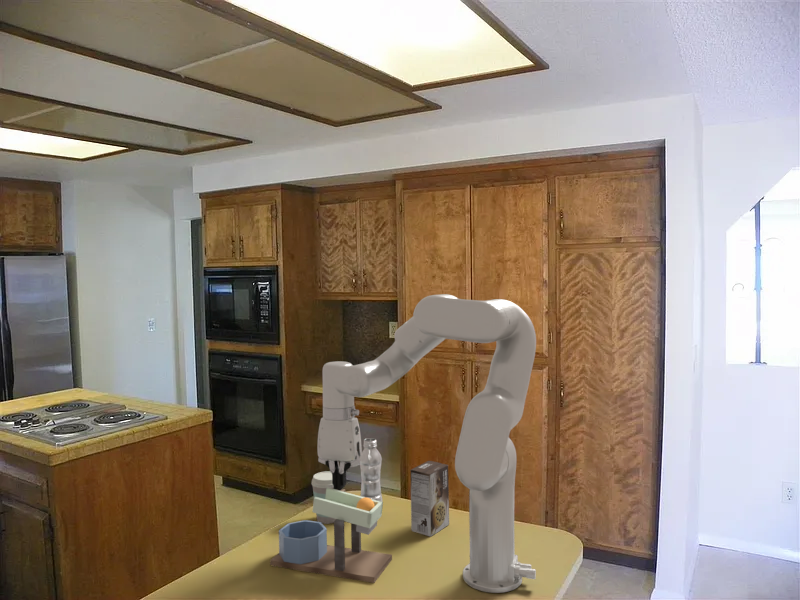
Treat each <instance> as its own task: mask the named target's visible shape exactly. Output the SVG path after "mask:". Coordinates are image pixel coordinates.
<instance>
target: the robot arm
mask: <svg viewBox="0 0 800 600" xmlns="http://www.w3.org/2000/svg"><path fill="white" fill-rule="evenodd" d="M534 326H535V325H534V324H533V322H532V320H531V318H530V317H529V315H528V314H527V313H526V312H525V310H523V309H522V308H521V307H520V306H519V305H518V304H516V303H514V302H512V301H510V300H507V299H501V298H498V299H497V298H496V299H487V300H479V299H478V300H476V299H463V298H459V297H456V296H455V295H452V294H448V293H445V294H444V293H443V294H432V295H427V296H425V297H423V298H422V299H420V300H419V302H417V304H416V305H415V308H414V310H413V314H412V317H410V318H409V319H408V320H407V321H405V322H404V323H403V324H402V325H401V326H400V327H398V328H397V329H396V330H395V332H394V341H393V343H392V345H390V347H388V348H387V349H386V350H385V351H383V353H381V354H380V355H379V356H378V357H376V358H375V359H373V360H369V361H366V362H363V363H359V364H354V365H353V364H352V363H351V362H348V361H343V360H342V361H341V360H340V361H338V360H337V361H329V362H326V363H324V365H323V367H322V417H321V418H320V422H319V426H318V432H317V449H316V450H317V456H318V460H317V461H318V463H321V464H324V465H325V466H326V467H327V468H328V469H329V471H330V472H331V473H332V484H333V488H334V489H335V490H336V489H338V490H341V489H344V488H345V486H346V484H347V471H348V470H349V469H350V468H355V467H358V466H360V459H359V458H360V456H361V454H362V451H363V450H362V449H363V448H362V435H361V428H360V425H359V419H358V418H357V417H356V416H359V415H360V410H359V409H356V405H355V398H364V397H367V396H370V395H372V394H375V393H379V392H380V391H384V390H385V389H387V388H389V387H391V386H392V385H393V384H394V383H396V382H397V381H398V380H399V379H401V378H402V377H404V376H405V375H406V374H407V373H408V372H410V370H411V369H412V368H414V366H415V365H417V364H418V362H420V360H421V359H422V358H423V357H425V356H426V355H427V354H428V353H430V352H431V351H432V350H434V349H435V348H436V347H437V346H439V345H440V344H441V343H442V342H444V341H445V340H453V341H454V340H455V341H463V342H469V343H477V344H490V343H496V345H495V346H496V347H495V350H494V353H493V356H492V359H491V362H490V367H489V373H488V376H487V381H486V383H485V387H484V389H483V390H482V391H480V392H479V393H477V394H476V395H474V397H473V398H472V399H471V400H470V401H469V403H468V405H467V407H466V410H465V414H464V417H463V421H462V426H461V429H460V434H459V439H458V442H457V448H456V453H455V457H454V458H455V459H454V470H455V473H456V476H457V478H458V479H459V481H460V483H462V485H463V486H464V487H466V488H467V489H469V496H468V497H469V499H468V500H469V503H468V505H469V507H468V508H469V511H468V512H469V513H468V515H469V517H468V518H469V519H468V521H469V563H468V564H467V565H465V567H463V570H462V579H463V580H464V582H465V583H466V584H467V585H468V586H469V587H471V588H473V589H474V590H477V591H480V592H484V593H492V594H493V593H494V594H498V593H507V592H510V591H514V590H515V589H517V588H519V587H520V586H521V584H522V582H523V578H526V579H530V580H536V576H537V570H536V569H535V568H532V564H530V563H521V561H518V560H519V559H518V555H517V554H515V487H516V486H515V483H516V474H517V471H516V470H517V462H518V461H517V450H516V447H515V444H514V442H513V440H511V438H510V434H511V430H513V428H515V427H516V426H517V425H518V423H519V422H520V421H521V419H522V418H523V414H524V410H525V409H524V408H525V405H526V399H527V396H528V395H527V394H528V391H529V390H528V389H529V385H530V380H531V377H532V376H531V374H532V370H533V366H534V362H535V356H536V350H537V335H536V330H535V327H534Z"/></svg>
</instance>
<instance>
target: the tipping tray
mask: <svg viewBox="0 0 800 600" xmlns="http://www.w3.org/2000/svg"><path fill="white" fill-rule="evenodd" d="M362 498H365V497H362V496H360V495H357V494H354V493H350V492H346V489H345V488H342V489H341V490H338V489H336V490H335V489H332V488H327V489H326V496H325V499H322V498H318V497H315V498H314V497H313V502H312V503H313V504H312V513H314V514H316V513H317V514H321V515H324V516H328V517H331V518H335V519H338V520H344V523H345V522H346V523H350V524H351V523H352V524H356V525H357V526H356V531H357V532H360V533H361V534H364V535H368V536H369V535H370V534H371V533H372V532H373V531H374V530H375V528H376V527H377V526H378V521H379V519H380V518H382V514H383V505H384V501H383V502H380V501H377V500H373V499H371V500H372V501H373V502H374V506H375V507H374V508H373V509H372V510H371V511H370V512H369V511H366V510H362V509H359V508H357V503H358V501H359V500H360V499H362Z"/></svg>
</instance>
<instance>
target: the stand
mask: <svg viewBox="0 0 800 600" xmlns="http://www.w3.org/2000/svg"><path fill="white" fill-rule="evenodd" d="M356 526H357V525H356V524H352V523H350V530H351V531H350V533H351V534H350V537H351V538H350V539H351V540H350V541H351V543H350V544H351V548H350V547H345V546H346V545H345V543H346V542H345V540H346V539H345V521H344V520H338V519H336V520H335V521H334V523H333V539H334V540H333V541H334V542H333V543H334V544H333V545H331V544H330V545H329V544H327V553H326V554H325V555H324V556H323V557H322V558H321V559H319V560H318V561H313V562H309V563H304V564H295V563H289V562H284V561H283V559H282V558H281V556H280V554H279V552H277V554H275V555H274V556H273V557H272V558H271V559H270V560H269V565H272V567H276V566H278V567H277V568H282V567H284V568H283V569H288V568H290V569H289V570H293V571H294V570H295V571H302V572H306V573H313V574H319V575H325V576H331V577H336V578H343V579H349V580H355V581H359V582H360V581H361V582H365V583H372V584H375V583H376V582H377V580H378V579H379V578H380V576H381V575H382V574H383V572H384V571H385V570H386V568H387V567H388V566H389V564H391V562H392V561H393V554H392V553H390V554H389V553H384V552H376V551H371V550H370V551H369V550H363V549H362V542H361V541H362V533H360V532H357V531H356Z"/></svg>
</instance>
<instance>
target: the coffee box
mask: <svg viewBox="0 0 800 600" xmlns="http://www.w3.org/2000/svg"><path fill="white" fill-rule="evenodd" d="M449 488H450V487H449V464H445V463H441V462H438V461H433V460H428V461H425V462H423V463H421V464H420V465H417V466H416V467H413V468H412V469H410V511H411V512H410V514H411V516H410V517H411V518H410V521H411V526H410V527H411V532H414V533H416V534H417V533H418V534H420V535H425V536H427V537H433V536H434V535H436V534H437V533H438V532H440V531H442V530H443V529H444V528H446V527H447V526H448V525H450V498H449V497H450V496H449V490H450V489H449Z"/></svg>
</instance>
